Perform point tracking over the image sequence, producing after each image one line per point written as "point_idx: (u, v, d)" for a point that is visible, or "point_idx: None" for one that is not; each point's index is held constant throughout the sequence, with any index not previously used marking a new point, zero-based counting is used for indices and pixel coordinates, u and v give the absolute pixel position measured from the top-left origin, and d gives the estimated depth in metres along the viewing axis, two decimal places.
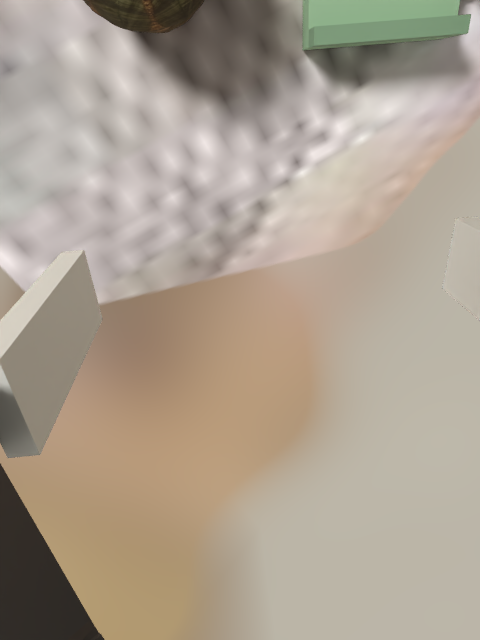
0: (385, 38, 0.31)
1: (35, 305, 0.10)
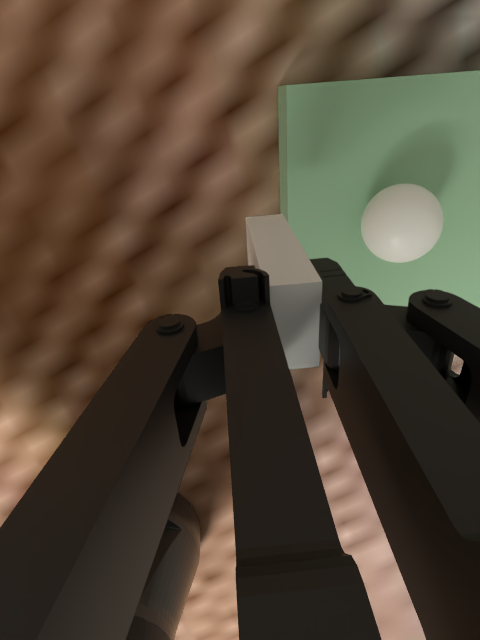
0: None
1: (273, 251, 0.13)
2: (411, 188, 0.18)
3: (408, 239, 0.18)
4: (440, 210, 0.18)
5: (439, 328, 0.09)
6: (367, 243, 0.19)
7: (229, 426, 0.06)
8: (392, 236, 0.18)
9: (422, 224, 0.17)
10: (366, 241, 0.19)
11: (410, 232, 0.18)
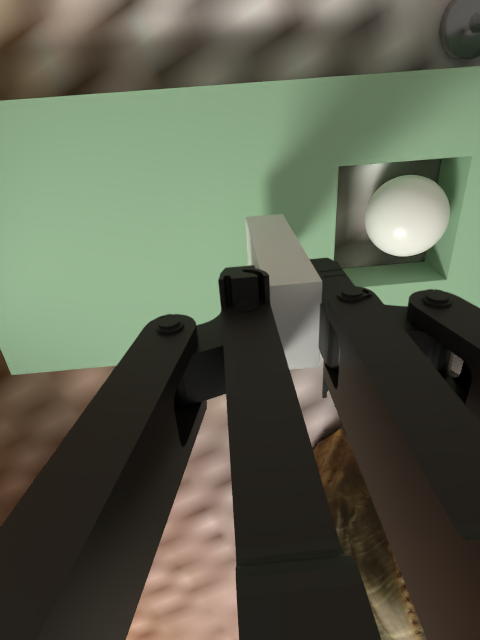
0: None
1: (273, 251, 0.13)
2: (416, 175, 0.18)
3: None
4: None
5: (439, 328, 0.09)
6: (440, 237, 0.18)
7: (229, 426, 0.06)
8: None
9: None
10: (441, 235, 0.18)
11: None
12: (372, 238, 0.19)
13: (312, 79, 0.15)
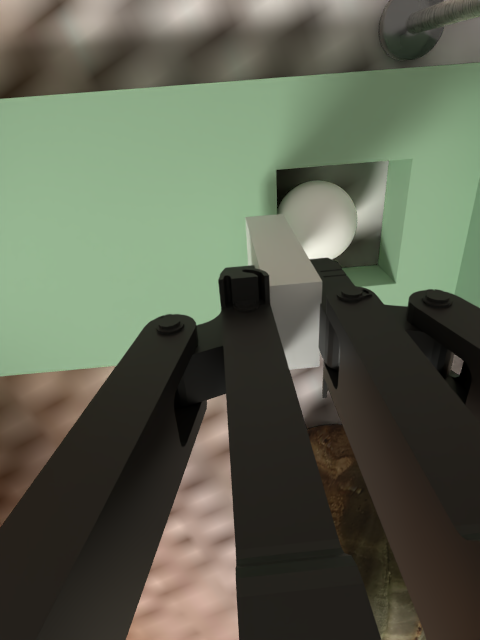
0: None
1: (273, 251, 0.13)
2: (328, 182, 0.17)
3: (356, 227, 0.18)
4: None
5: (439, 328, 0.09)
6: (322, 249, 0.17)
7: (229, 426, 0.06)
8: (351, 229, 0.17)
9: None
10: (321, 248, 0.17)
11: (356, 220, 0.18)
12: None
13: (242, 81, 0.15)
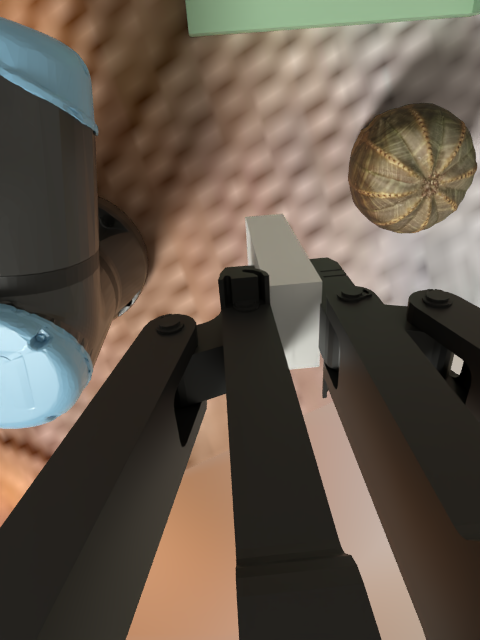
0: None
1: (273, 251, 0.13)
2: None
3: None
4: None
5: (439, 328, 0.09)
6: None
7: (229, 426, 0.06)
8: None
9: None
10: None
11: None
12: None
13: None
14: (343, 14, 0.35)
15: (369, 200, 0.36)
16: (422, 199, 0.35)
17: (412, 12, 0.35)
